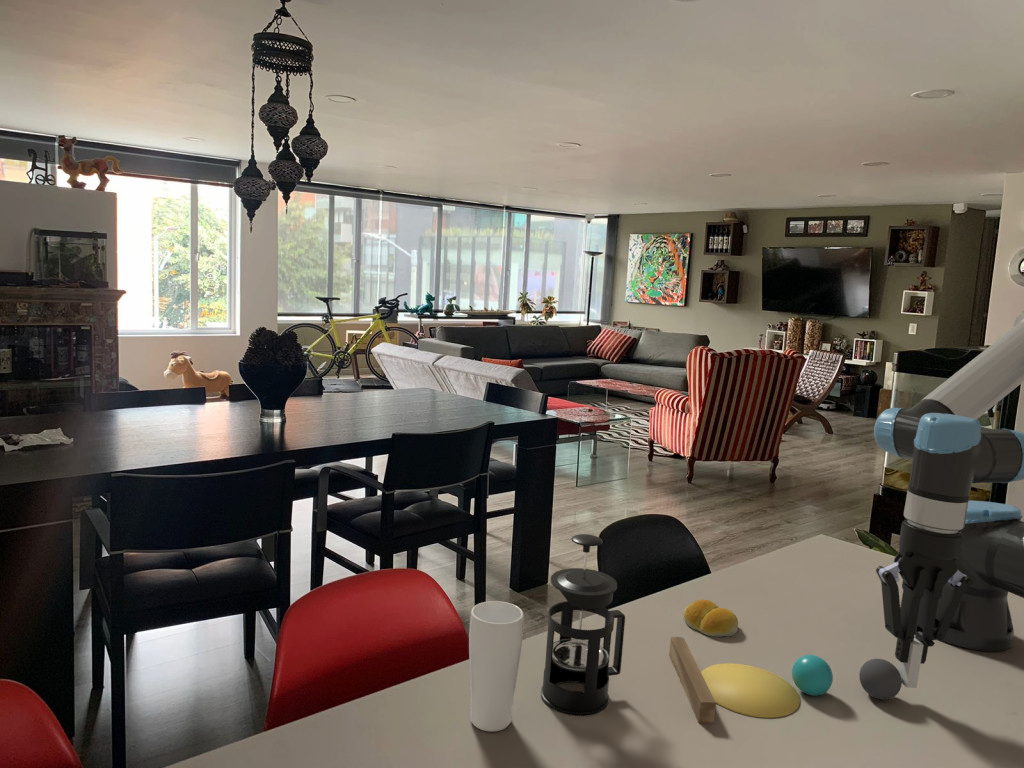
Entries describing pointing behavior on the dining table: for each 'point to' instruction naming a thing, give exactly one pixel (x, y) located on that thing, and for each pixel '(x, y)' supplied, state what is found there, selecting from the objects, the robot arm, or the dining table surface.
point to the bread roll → (710, 619)
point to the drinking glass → (494, 662)
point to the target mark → (750, 690)
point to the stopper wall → (692, 681)
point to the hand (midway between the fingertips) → (906, 682)
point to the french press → (582, 639)
